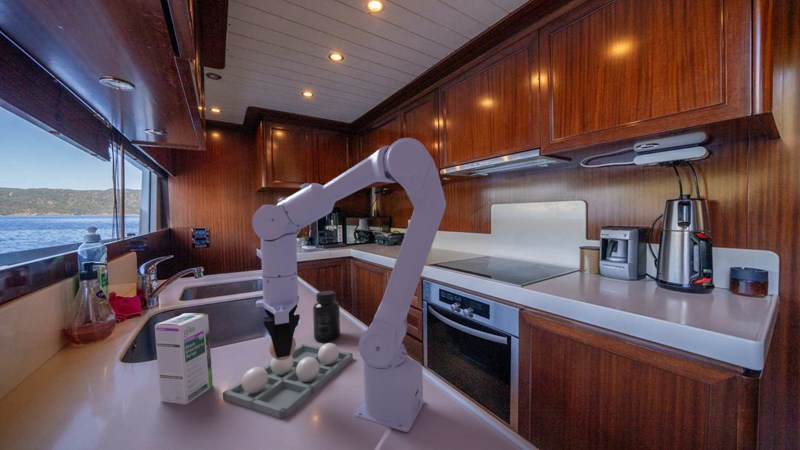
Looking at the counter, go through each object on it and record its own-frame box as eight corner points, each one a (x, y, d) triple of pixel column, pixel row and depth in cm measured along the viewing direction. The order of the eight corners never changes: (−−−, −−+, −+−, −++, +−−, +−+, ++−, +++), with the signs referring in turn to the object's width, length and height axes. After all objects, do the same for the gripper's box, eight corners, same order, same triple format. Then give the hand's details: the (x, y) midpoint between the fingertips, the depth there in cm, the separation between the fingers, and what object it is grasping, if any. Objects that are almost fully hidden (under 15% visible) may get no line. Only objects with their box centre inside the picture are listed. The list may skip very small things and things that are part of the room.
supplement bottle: (345, 335, 80) (344, 291, 79) (327, 345, 74) (325, 298, 74) (327, 330, 84) (326, 288, 83) (308, 339, 78) (306, 294, 77)
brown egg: (301, 355, 54) (300, 331, 54) (283, 367, 50) (282, 341, 50) (282, 351, 56) (282, 328, 55) (264, 362, 52) (263, 337, 51)
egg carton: (352, 360, 66) (352, 339, 66) (283, 421, 47) (282, 392, 47) (303, 350, 72) (302, 330, 71) (223, 401, 53) (221, 375, 52)
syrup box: (186, 407, 51) (181, 324, 51) (158, 403, 53) (153, 322, 52) (213, 387, 57) (209, 313, 56) (187, 384, 58) (183, 311, 57)
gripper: (257, 269, 57) (260, 337, 58) (251, 286, 44) (255, 375, 44) (296, 265, 60) (298, 331, 61) (301, 281, 47) (304, 365, 47)
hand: (283, 349), depth 53 cm, fingers closed on brown egg, 4 cm apart
